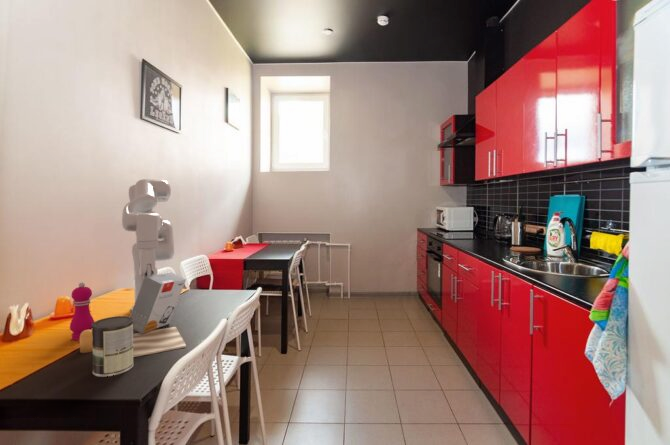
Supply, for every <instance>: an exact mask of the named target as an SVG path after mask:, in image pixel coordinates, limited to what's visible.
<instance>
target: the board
mask: <svg viewBox="0 0 670 445" xmlns="http://www.w3.org/2000/svg"><path fill="white" fill-rule="evenodd" d="M182 348H187V344H186V342H185V341H184V338H183V337H182V335H181V334H180V332H179V330H178V328H177V327H176V326H171V327H166V328H165V327H163V328H157V329H154V330H151V331H149V332H145V333H140V332H133V358H136V357H141V356H146V355H152V354H156V353H157V354H158V353H163V352H169V351H173V350H178V349H182Z"/></svg>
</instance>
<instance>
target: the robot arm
mask: <svg viewBox="0 0 670 445" xmlns="http://www.w3.org/2000/svg"><path fill="white" fill-rule="evenodd" d="M171 190H172V188H171V185H170V182H168V181H167V180H165V179H154V178H153V179H151V178H147V179H146V178H143V179H139V180H138V181H136V183H135V184H133V185H131V186H130V187H129V188H128V197H129V198H128V199H129V202H128V203H126V204H125V205H124V207H123V210H122V217H121V223H122V224H121V225H122V227H123V228H122V229H124V230H125V231H127V232H135V236H136V242H134V244H133V245H132V246H131V254H132V260H133V270H134V274H133V275H134V303H135V302H136V299H137V297H138V294H139V291H140V289H141V286H142V283H143V280H144V278H145V277H146V276H152V275H159V273H158V269H157V267H156V262H160V261H170V260H172V259H173V258H174V256H175V245H174V244H175V242H174V231H173V225H172V223H171V222H170V221H169V220H166V219H165V220H163V216H161V215H160V213H157V212H155V210H154V209H155V208H156V207H157V205H158V203H166V202H168V201H169V199H170V196H171V192H172V191H171ZM133 307H134V305H131V307H130V311H132V310H133Z"/></svg>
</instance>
